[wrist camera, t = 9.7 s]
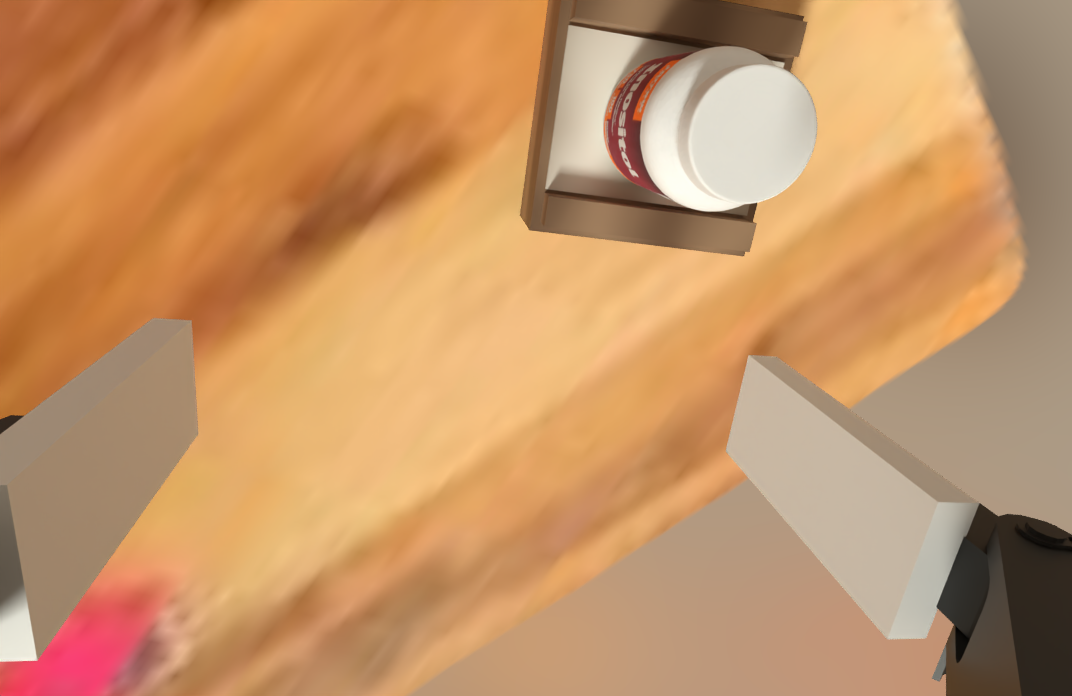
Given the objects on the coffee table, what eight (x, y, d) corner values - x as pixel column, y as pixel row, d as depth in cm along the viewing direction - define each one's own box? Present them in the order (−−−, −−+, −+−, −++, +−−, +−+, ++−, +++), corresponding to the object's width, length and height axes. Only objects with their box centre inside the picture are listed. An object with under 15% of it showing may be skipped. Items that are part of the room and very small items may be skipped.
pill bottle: (608, 50, 31) (685, 22, 21) (730, 66, 32) (861, 46, 22) (591, 183, 33) (654, 217, 23) (706, 194, 34) (815, 231, 24)
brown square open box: (520, 215, 39) (532, 235, 32) (549, -11, 35) (570, -36, 29) (710, 239, 40) (755, 262, 34) (758, 28, 37) (819, 12, 30)
